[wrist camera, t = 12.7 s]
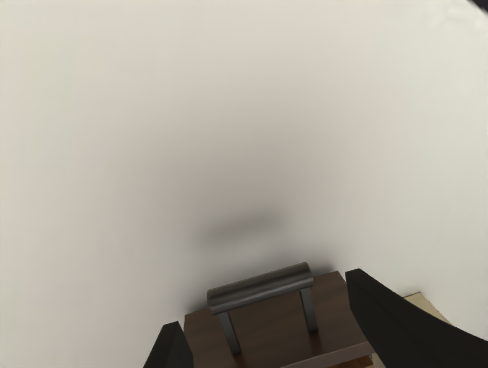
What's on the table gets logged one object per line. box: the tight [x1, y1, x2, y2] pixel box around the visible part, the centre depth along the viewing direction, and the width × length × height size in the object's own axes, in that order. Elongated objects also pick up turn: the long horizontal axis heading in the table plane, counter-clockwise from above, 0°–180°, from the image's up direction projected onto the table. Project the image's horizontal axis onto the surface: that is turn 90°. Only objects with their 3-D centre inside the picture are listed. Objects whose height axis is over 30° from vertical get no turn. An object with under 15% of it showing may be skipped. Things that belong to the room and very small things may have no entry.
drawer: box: [184, 262, 376, 368], centre depth 22 cm, size 18×12×6 cm, turn 13°
